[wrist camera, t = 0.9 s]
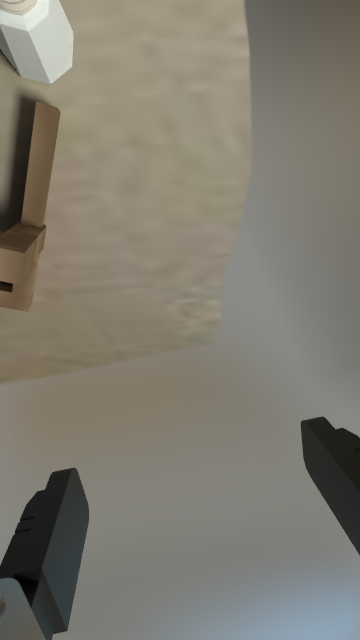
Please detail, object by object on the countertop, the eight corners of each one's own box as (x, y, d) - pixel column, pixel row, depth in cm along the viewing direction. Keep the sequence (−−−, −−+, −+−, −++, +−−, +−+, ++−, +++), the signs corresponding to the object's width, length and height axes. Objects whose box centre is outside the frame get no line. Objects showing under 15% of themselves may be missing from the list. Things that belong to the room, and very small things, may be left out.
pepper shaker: (-18, 0, 24) (-96, -120, 14) (60, -14, 24) (38, -138, 14) (15, 92, 26) (-32, 45, 16) (85, 77, 27) (81, 23, 17)
